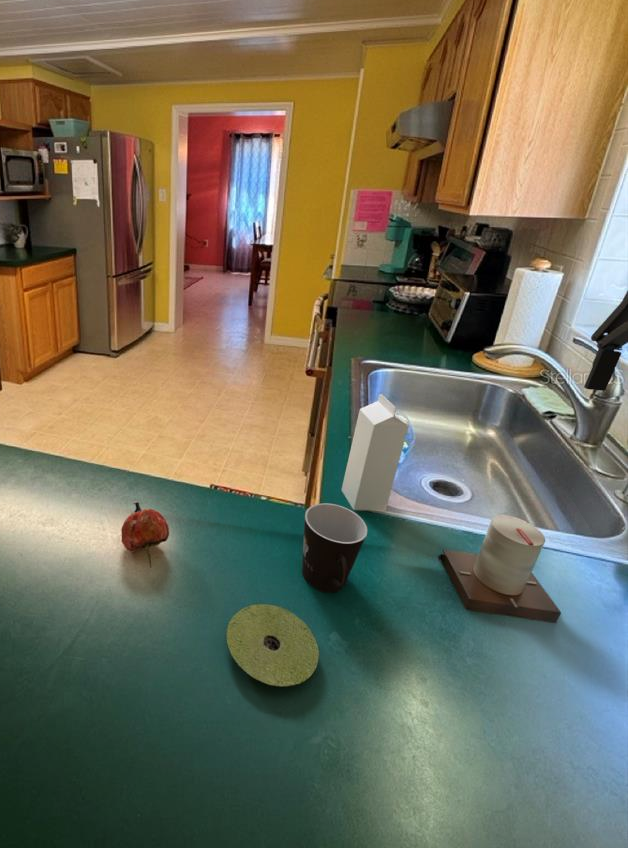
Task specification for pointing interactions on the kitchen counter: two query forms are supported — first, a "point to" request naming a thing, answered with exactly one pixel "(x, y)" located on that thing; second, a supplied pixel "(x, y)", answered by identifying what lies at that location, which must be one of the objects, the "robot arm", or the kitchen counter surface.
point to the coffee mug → (331, 545)
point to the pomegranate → (144, 530)
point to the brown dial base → (485, 599)
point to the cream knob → (508, 554)
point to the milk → (374, 456)
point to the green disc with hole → (272, 645)
